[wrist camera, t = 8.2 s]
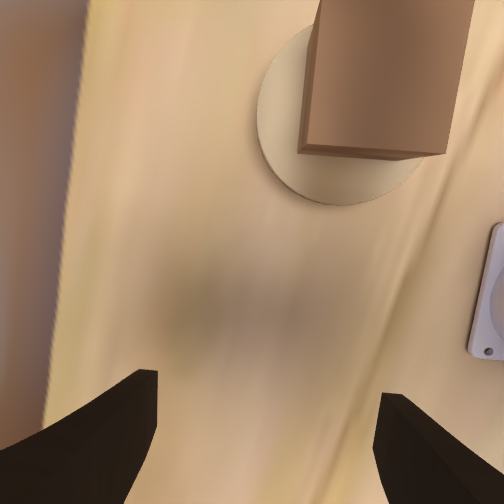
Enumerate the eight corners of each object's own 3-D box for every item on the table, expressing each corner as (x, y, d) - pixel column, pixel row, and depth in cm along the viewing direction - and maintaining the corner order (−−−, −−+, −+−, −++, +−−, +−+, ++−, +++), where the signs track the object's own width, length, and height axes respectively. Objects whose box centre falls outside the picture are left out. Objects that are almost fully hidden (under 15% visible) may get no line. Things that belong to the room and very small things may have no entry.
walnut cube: (413, 52, 14) (475, -4, 10) (395, 160, 15) (445, 153, 11) (307, 45, 15) (323, -12, 10) (296, 153, 16) (307, 143, 11)
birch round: (427, 57, 18) (464, 27, 14) (388, 212, 19) (413, 219, 16) (272, 33, 18) (272, -2, 14) (248, 188, 19) (243, 191, 16)
